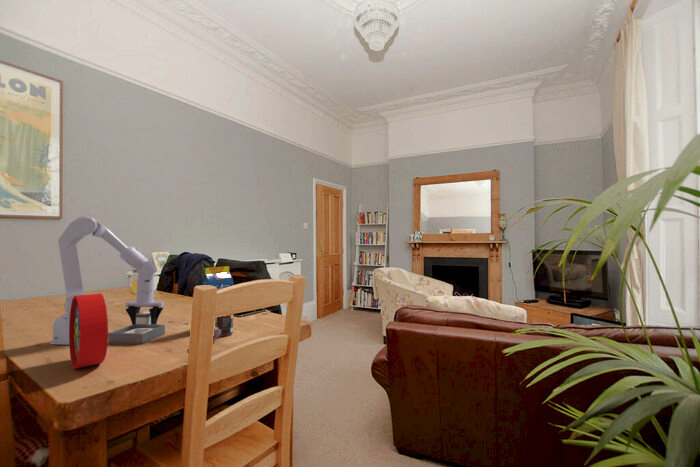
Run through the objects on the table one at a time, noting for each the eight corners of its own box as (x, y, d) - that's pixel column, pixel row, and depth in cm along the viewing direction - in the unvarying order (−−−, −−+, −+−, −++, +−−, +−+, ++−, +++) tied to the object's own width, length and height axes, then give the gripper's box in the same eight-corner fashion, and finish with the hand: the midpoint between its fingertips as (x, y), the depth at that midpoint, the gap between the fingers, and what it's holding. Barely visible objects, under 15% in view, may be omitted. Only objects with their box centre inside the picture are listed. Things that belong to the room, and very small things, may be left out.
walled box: (108, 343, 107) (109, 333, 108) (134, 333, 119) (134, 324, 120) (142, 344, 107) (142, 333, 107) (164, 333, 119) (164, 324, 119)
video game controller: (199, 354, 102) (208, 336, 102) (188, 347, 103) (197, 329, 102) (217, 345, 112) (226, 328, 111) (207, 338, 113) (216, 321, 112)
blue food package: (198, 329, 125) (200, 267, 126) (222, 322, 136) (224, 265, 137) (209, 331, 123) (210, 268, 123) (233, 324, 133) (234, 266, 134)
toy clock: (67, 358, 93) (70, 291, 94) (92, 353, 98) (95, 289, 98) (78, 378, 80) (81, 300, 81) (106, 371, 84) (109, 297, 85)
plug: (135, 331, 121) (135, 313, 122) (142, 328, 126) (143, 311, 126) (145, 332, 121) (146, 314, 121) (152, 329, 125) (153, 311, 126)
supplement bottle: (236, 333, 120) (236, 304, 120) (222, 337, 115) (223, 307, 115) (226, 331, 123) (227, 302, 123) (212, 335, 118) (213, 305, 118)
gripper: (169, 289, 128) (168, 323, 127) (135, 289, 128) (134, 322, 128) (157, 292, 121) (156, 327, 120) (121, 292, 121) (120, 327, 121)
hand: (144, 325), depth 123 cm, fingers open, 7 cm apart
